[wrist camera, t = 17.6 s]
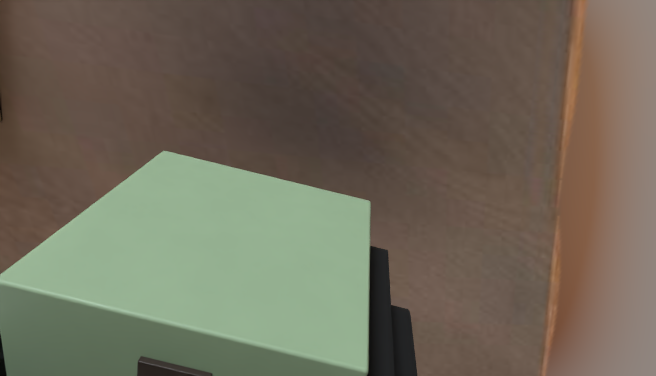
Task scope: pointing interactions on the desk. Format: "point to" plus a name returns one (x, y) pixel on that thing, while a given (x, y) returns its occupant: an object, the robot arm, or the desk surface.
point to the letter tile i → (195, 281)
